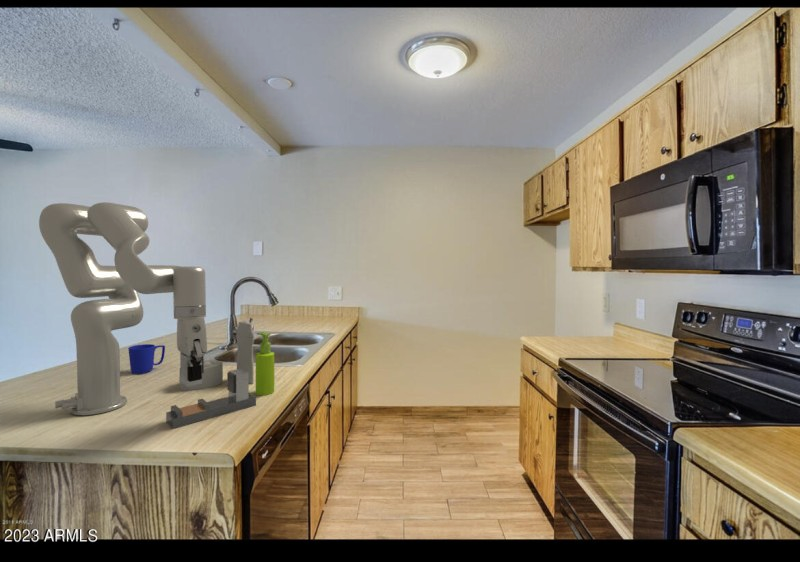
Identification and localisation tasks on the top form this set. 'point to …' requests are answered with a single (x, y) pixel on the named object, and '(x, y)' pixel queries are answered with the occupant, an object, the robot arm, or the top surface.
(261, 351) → the soap dispenser
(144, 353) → the mug
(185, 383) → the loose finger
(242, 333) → the grey tall slab
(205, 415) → the rail
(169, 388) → the top surface
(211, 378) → the lumpy-topped squat cylinder
